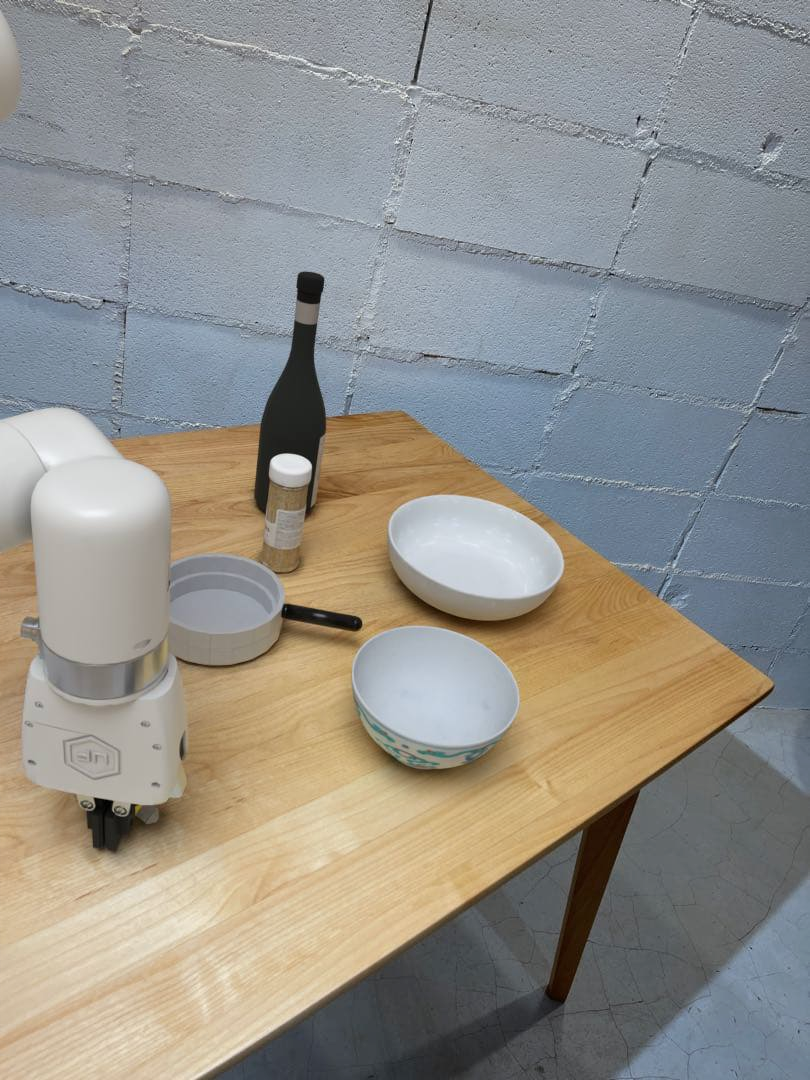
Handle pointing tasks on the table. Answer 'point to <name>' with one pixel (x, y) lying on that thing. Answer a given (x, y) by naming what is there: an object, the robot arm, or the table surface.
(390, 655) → the chinaware
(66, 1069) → the table surface
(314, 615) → the pan handle
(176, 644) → the pan
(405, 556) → the serving bowl
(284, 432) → the wine bottle
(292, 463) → the spice jar
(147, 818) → the light bulb
